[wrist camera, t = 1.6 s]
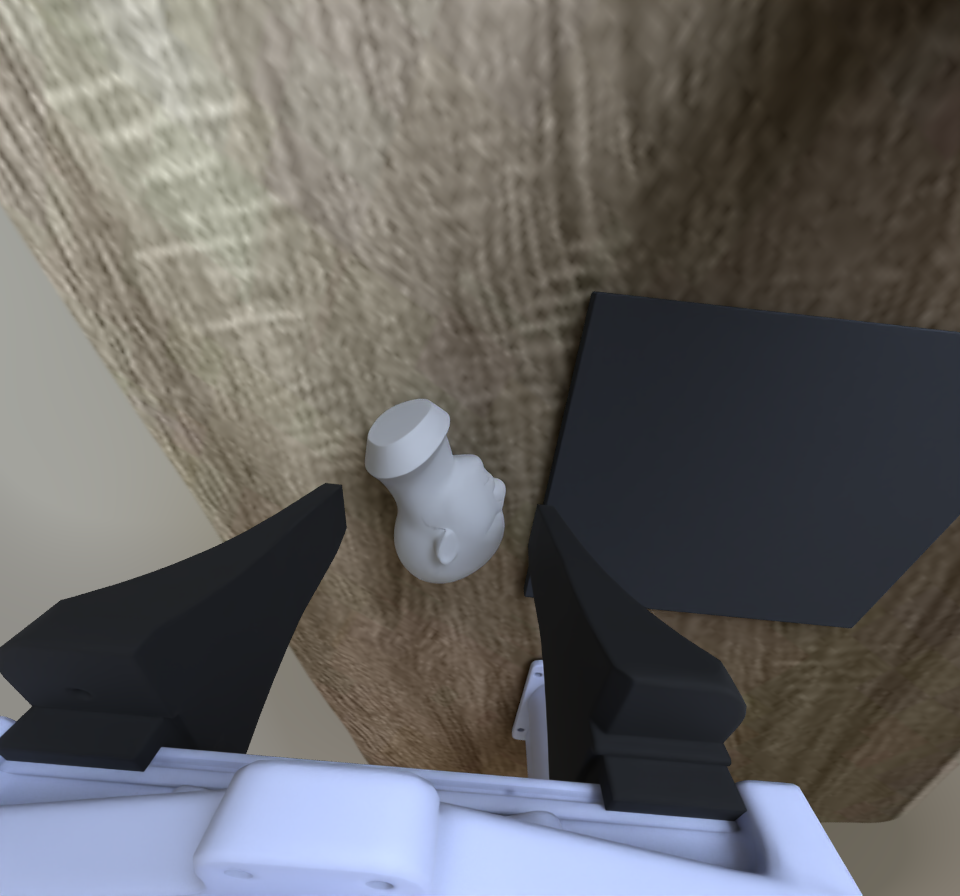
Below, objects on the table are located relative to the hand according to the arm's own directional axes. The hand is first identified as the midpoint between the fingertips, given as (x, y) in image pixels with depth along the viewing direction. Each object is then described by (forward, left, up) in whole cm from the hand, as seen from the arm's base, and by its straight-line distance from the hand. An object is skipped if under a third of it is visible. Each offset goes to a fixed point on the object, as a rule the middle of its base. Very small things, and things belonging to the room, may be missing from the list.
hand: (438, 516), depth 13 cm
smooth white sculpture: (0, 0, -3) cm, 3 cm away
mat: (0, -14, -3) cm, 14 cm away
